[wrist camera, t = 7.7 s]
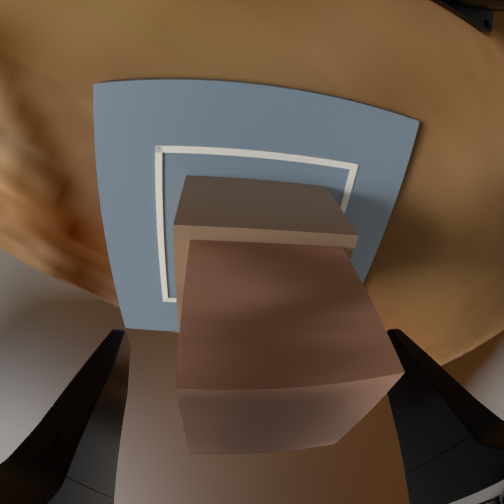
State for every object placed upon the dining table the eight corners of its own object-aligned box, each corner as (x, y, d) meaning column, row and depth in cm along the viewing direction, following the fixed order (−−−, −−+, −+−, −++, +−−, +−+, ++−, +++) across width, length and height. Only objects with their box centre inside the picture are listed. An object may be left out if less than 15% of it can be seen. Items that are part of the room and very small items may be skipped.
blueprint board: (408, 116, 12) (476, 151, 8) (336, 320, 20) (357, 380, 16) (102, 81, 10) (41, 99, 6) (128, 316, 18) (113, 382, 14)
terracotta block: (342, 246, 10) (404, 372, 6) (307, 339, 13) (334, 443, 9) (189, 239, 9) (175, 388, 5) (192, 339, 12) (190, 453, 8)
